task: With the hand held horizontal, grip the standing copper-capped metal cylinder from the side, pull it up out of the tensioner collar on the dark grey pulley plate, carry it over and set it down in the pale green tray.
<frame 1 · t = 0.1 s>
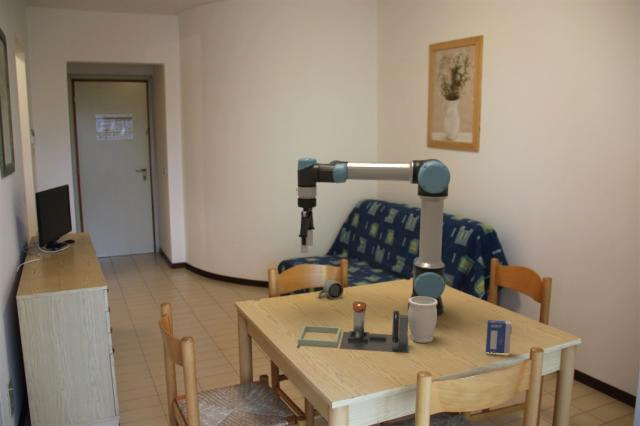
hand: (306, 249, 234), 28 cm above the table, tool pointing down, fingers open, 13 cm apart
jar: (421, 339, 215), on the table
walkman: (497, 354, 203), on the table
pulley plate: (374, 344, 209), on the table
copper-capped metal cylinder: (358, 337, 213), point 1 cm above the table, touching pulley plate
ceramic mug: (330, 297, 263), on the table
tray: (319, 341, 212), on the table
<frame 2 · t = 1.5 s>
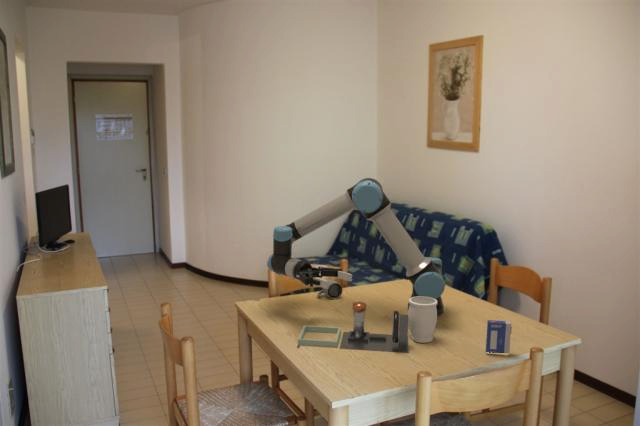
hand: (339, 281, 216), 20 cm above the table, tool horizontal, fingers open, 13 cm apart
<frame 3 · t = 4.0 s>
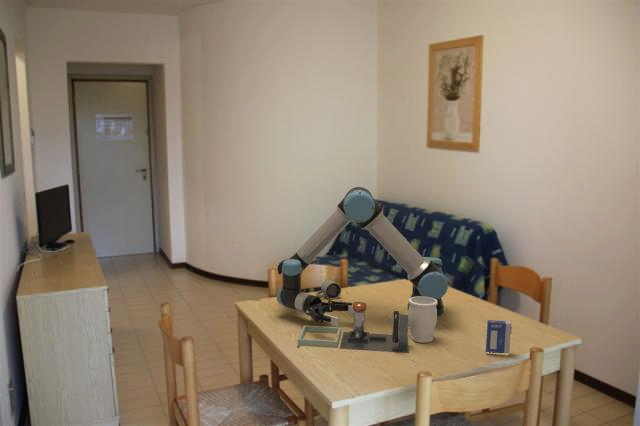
hand: (350, 317, 214), 8 cm above the table, tool horizontal, fingers open, 13 cm apart
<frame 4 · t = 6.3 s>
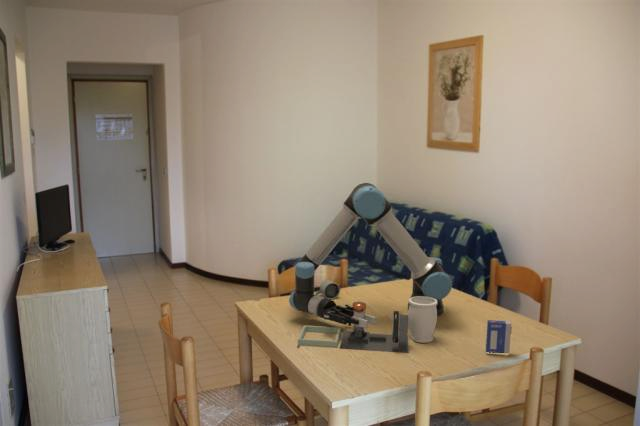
hand: (370, 322, 208), 8 cm above the table, tool horizontal, fingers closed on copper-capped metal cylinder, 4 cm apart
copper-capped metal cylinder: (358, 337, 213), point 1 cm above the table, touching gripper, pulley plate
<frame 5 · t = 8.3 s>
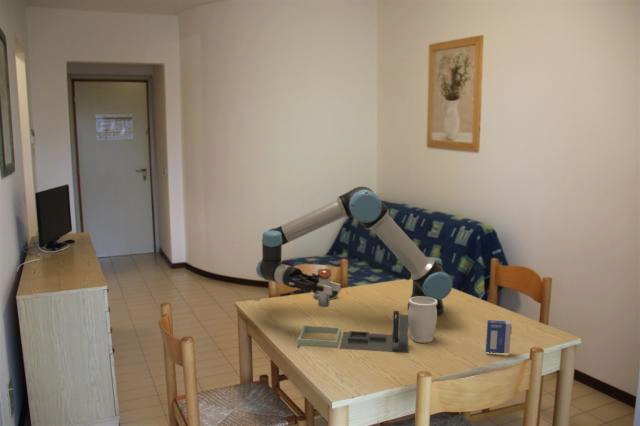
hand: (335, 289, 205), 21 cm above the table, tool horizontal, fingers closed on copper-capped metal cylinder, 4 cm apart
copper-capped metal cylinder: (323, 305, 210), point 14 cm above the table, touching gripper
when the fingers open (9 cm above the table, at t = 10.7 s): copper-capped metal cylinder drops 1 cm, resting on tray.
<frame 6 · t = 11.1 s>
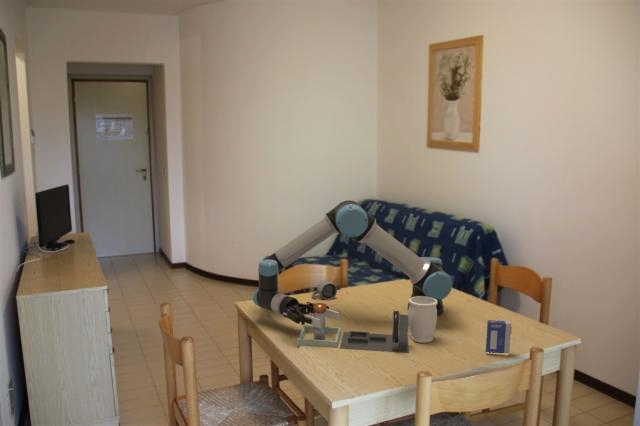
hand: (329, 319, 207), 9 cm above the table, tool horizontal, fingers open, 9 cm apart
copper-capped metal cylinder: (319, 339, 212), point 1 cm above the table, touching tray
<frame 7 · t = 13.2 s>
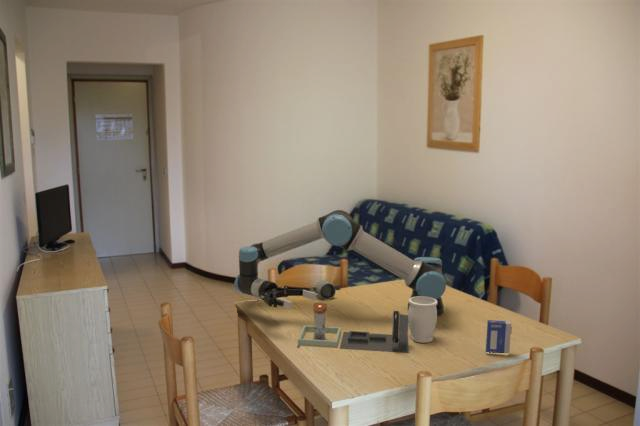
hand: (303, 301, 217), 13 cm above the table, tool horizontal, fingers open, 13 cm apart
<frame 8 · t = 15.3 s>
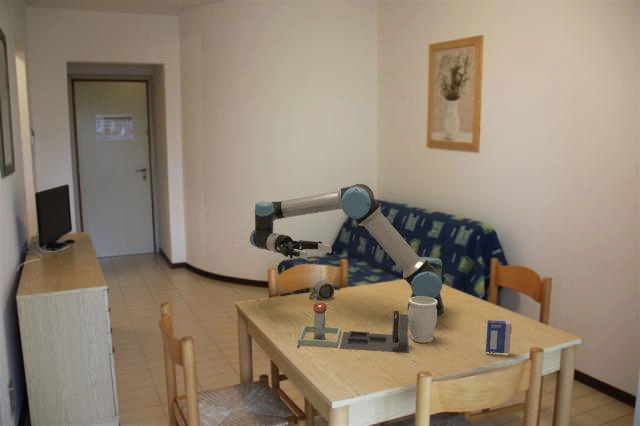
hand: (319, 252, 220), 30 cm above the table, tool horizontal, fingers open, 13 cm apart
at the end: copper-capped metal cylinder inside the target area on the tray (0.1 cm from its centre), point 0.8 cm above the tray's base; the gripper is holding nothing; copper-capped metal cylinder moved 14.4 cm from its start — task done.
